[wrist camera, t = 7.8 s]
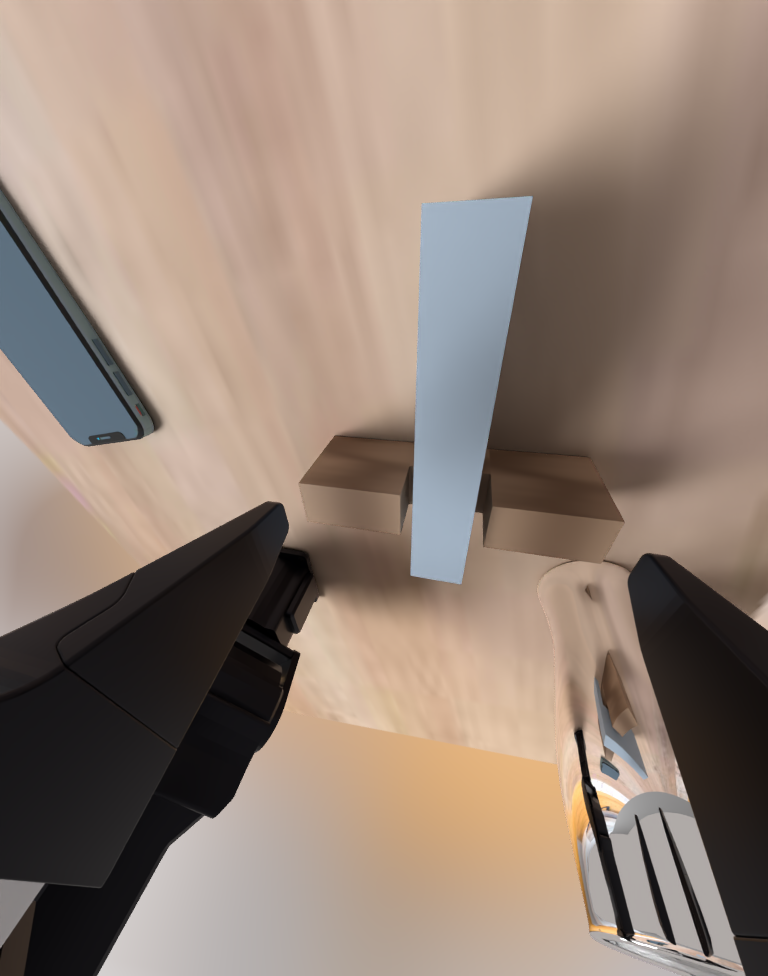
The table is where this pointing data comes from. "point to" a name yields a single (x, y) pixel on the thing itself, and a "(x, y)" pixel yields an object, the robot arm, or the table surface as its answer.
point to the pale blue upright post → (459, 367)
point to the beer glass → (627, 785)
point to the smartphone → (60, 345)
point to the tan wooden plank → (501, 497)
